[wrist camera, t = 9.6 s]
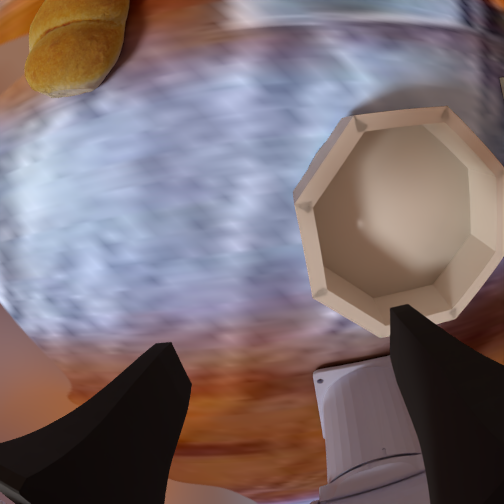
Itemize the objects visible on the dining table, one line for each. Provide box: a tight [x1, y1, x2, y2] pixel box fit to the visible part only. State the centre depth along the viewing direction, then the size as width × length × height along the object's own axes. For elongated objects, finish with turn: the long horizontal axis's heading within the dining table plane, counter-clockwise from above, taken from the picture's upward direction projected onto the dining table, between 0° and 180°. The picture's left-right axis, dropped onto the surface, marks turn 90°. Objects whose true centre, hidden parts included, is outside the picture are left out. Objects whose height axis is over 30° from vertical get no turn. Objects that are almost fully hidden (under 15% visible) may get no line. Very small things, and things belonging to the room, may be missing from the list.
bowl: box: [293, 106, 504, 338], centre depth 16 cm, size 12×12×4 cm
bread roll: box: [24, 0, 130, 98], centre depth 14 cm, size 8×9×4 cm
